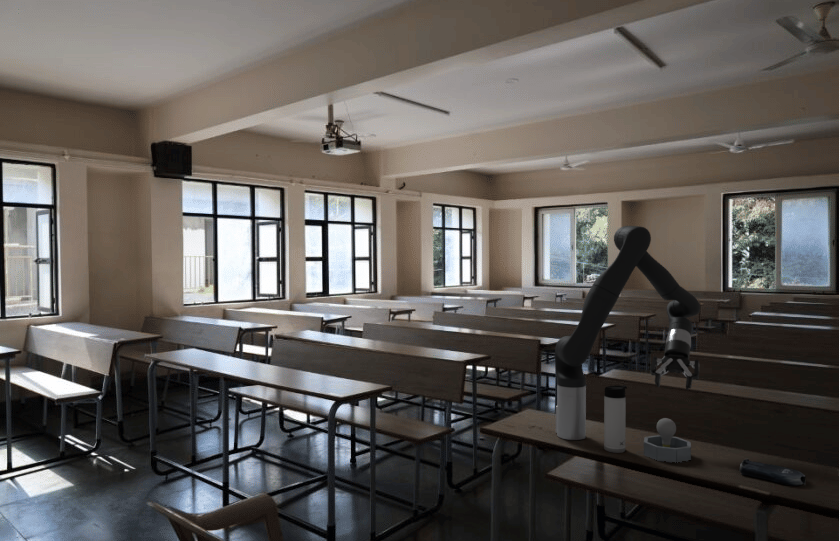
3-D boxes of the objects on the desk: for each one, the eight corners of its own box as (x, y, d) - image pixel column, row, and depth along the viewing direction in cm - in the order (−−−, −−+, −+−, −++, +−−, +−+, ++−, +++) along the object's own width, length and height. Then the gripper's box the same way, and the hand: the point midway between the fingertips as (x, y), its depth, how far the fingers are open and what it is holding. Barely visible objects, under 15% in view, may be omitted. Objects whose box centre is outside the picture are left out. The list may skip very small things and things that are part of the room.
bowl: (634, 451, 186) (634, 438, 186) (667, 446, 191) (667, 433, 191) (666, 464, 174) (666, 450, 174) (700, 459, 179) (700, 445, 179)
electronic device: (739, 482, 165) (802, 488, 155) (736, 461, 166) (800, 465, 156) (748, 477, 172) (809, 483, 162) (745, 457, 173) (807, 461, 163)
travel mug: (627, 453, 184) (628, 388, 184) (605, 452, 185) (605, 387, 185) (625, 447, 190) (625, 383, 190) (603, 446, 191) (603, 383, 191)
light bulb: (659, 447, 187) (659, 415, 186) (678, 450, 183) (677, 417, 183) (654, 452, 182) (654, 419, 182) (673, 455, 179) (673, 421, 179)
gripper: (653, 337, 200) (647, 377, 191) (701, 340, 193) (696, 382, 183) (656, 351, 205) (649, 391, 195) (702, 354, 198) (698, 396, 188)
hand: (672, 387), depth 189 cm, fingers open, 8 cm apart
